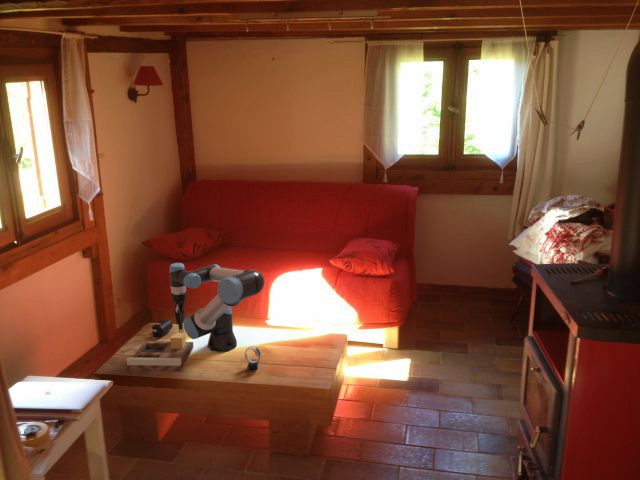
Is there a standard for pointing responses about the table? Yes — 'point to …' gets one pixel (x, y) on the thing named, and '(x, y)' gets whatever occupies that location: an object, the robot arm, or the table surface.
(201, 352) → the table surface
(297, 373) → the table surface
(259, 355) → the watch
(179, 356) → the board
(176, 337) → the block
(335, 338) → the table surface
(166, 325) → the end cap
